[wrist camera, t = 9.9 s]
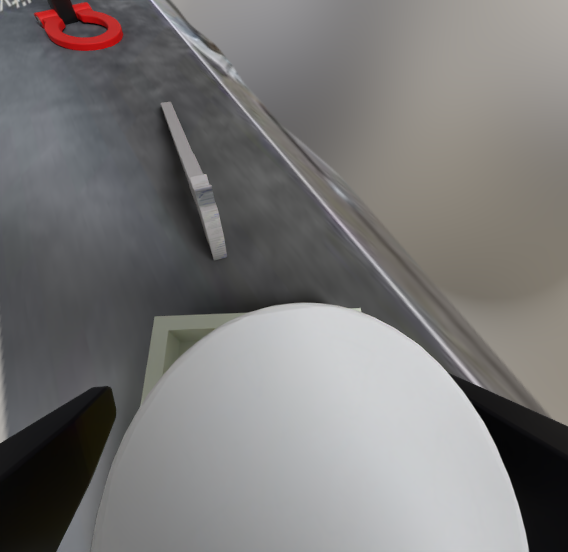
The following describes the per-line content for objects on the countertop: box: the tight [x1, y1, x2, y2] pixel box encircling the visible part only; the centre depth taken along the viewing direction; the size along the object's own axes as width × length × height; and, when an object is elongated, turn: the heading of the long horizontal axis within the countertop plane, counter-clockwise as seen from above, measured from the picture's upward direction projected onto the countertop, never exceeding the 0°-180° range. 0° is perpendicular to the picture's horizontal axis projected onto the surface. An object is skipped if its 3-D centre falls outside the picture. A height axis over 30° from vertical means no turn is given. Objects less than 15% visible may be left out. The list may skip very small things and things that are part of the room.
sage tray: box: [140, 308, 361, 406], centre depth 13 cm, size 12×12×3 cm
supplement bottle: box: [90, 303, 529, 552], centre depth 8 cm, size 7×7×13 cm
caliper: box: [161, 102, 227, 261], centre depth 21 cm, size 20×1×6 cm, turn 23°
